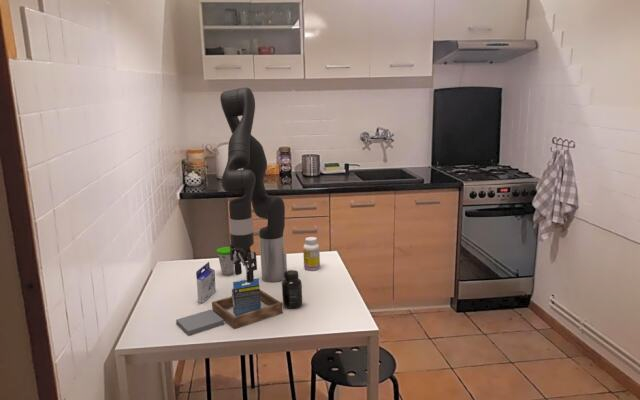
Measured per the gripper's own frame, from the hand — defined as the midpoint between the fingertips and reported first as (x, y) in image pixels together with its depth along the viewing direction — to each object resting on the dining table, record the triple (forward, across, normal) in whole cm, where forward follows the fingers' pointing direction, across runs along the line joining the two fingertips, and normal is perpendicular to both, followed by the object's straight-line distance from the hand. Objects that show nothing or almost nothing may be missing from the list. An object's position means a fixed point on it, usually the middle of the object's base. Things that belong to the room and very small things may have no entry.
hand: (244, 277), depth 167 cm
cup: (+12, +37, -11) cm, 41 cm away
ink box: (+13, +21, +5) cm, 25 cm away
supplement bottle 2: (+12, +20, -41) cm, 47 cm away
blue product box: (+13, 0, 0) cm, 13 cm away
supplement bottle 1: (+12, -5, -15) cm, 20 cm away
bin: (+12, 0, 0) cm, 12 cm away
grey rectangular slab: (+12, +2, +16) cm, 20 cm away
